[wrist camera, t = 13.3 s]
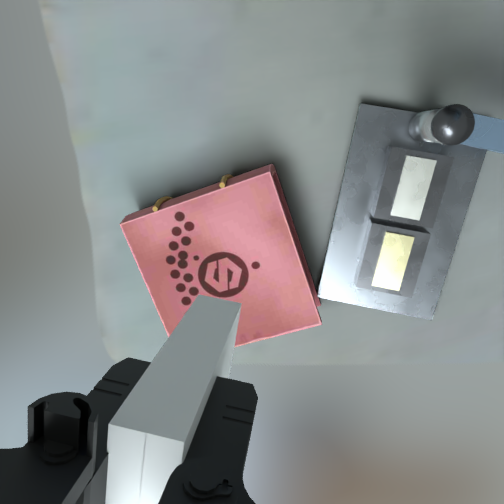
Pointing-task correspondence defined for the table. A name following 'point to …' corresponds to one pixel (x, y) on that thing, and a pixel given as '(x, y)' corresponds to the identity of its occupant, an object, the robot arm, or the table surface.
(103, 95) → the table surface
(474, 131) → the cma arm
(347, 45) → the table surface
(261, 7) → the table surface
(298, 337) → the table surface
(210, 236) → the book
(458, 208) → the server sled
